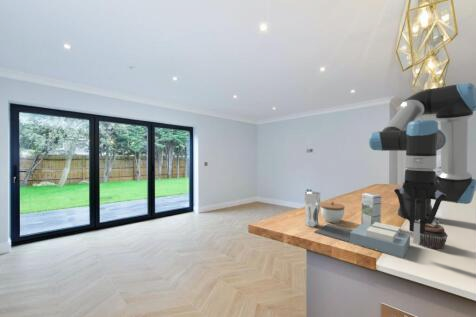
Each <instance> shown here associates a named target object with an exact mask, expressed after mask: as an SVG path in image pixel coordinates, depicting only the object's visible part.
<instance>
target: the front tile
mask: <svg viewBox="0 0 476 317" xmlns="http://www.w3.org/2000/svg"><path fill="white" fill-rule="evenodd" d="M366 236H369V237H373V238H377V239H381V240H385V241H389V242H394V240H395V239H396V232H393V231H388V230H384V229H379V228H375V227H371V226H370V227H369V228H368V229H367V230H366Z"/></svg>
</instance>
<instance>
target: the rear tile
mask: <svg viewBox="0 0 476 317" xmlns="http://www.w3.org/2000/svg"><path fill="white" fill-rule="evenodd" d="M372 227H375V228H379V229H384V230H388V231H393V232H396V236H398V234H399V233H400V232H401V227H400V226H396V225H393V224H387V223H382V222H381V223H378V222H375V223H374V224H373V225H372Z"/></svg>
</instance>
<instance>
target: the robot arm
mask: <svg viewBox="0 0 476 317" xmlns="http://www.w3.org/2000/svg"><path fill="white" fill-rule="evenodd" d="M475 111H476V86H475V84H473V83H471V82H466V83H457V84H452V85H445V86H441V87H440V86H438V87H435V88H428V89H423V90H421V91H418V92H416V93H415V94H412V95H411V96H409V97H408V98H406V99H404V101H403V102H402V103H401V104H400V105H399V107H398V111H397V112H396V114H395V115H394V116H393V117H392V118H391V120H390V121H389V122H388V124H387V125H386V126H385V127H384V128H383V129H382V130H381V131H380V130H379V131H374V132H371V134H370V135H369V138H368V145H369V148H370V149H371V150H373V151H380V152H382V151H385V152H386V151H399V152H400V151H403V152H405V165H404V166H405V167H404V168H406V169H405V170H404V175H403V180H402V185H401V186H400V187H398V188H395V189H394V194H396V196H397V198H398V203H399V207H398V210H397V215H398V216H400V217H402V218H403V219H405V220H407V221H409V231H410V232H413V237H412V243H413V244H415V245H418V244H419V243H420V233H421V234H424V233H425V224H427V223H430V224H431V223H433V220H434V218H436V215H437V213H438V210H439V208H440V205H441V204H442V203H441V202H448V203H455V204H463V205H468V204H470V203H472V201H473V197H474V195H475V192H476V178H475V179H474V178H473V175H472V173H470V172H469V171H468V130H469V129H468V126H469V124H468V120H469V119H470V118H471V117H472V116H474V112H475ZM426 115H427V116H428V115H435V118H436V120H435V119H422V120H417V119H419V118H420V117H421V116H426ZM437 120H439V122H440V130H439V122H438V121H437ZM438 150H440V171H439V172H436V171H435V170H436V169H437V159H438V158H437V155H438V154H437V151H438ZM432 200H434V204H433V206H432ZM426 218H427V219H426ZM418 220H420V222H418Z"/></svg>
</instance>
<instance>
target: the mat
mask: <svg viewBox="0 0 476 317" xmlns="http://www.w3.org/2000/svg"><path fill="white" fill-rule="evenodd" d="M353 230H354V229H351V228H347V227H343V226H338V225H334V224H330V223H327V224H326V225H323V226H322V227H320V228H318V229H316V230H315V231H313V233H315V234H318V235H322V236H325V237H329V238H332V239H335V240H338V239H339V240H338V241H343V242H345V241H346V243H349V242H350V232H351V231H353Z"/></svg>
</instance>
